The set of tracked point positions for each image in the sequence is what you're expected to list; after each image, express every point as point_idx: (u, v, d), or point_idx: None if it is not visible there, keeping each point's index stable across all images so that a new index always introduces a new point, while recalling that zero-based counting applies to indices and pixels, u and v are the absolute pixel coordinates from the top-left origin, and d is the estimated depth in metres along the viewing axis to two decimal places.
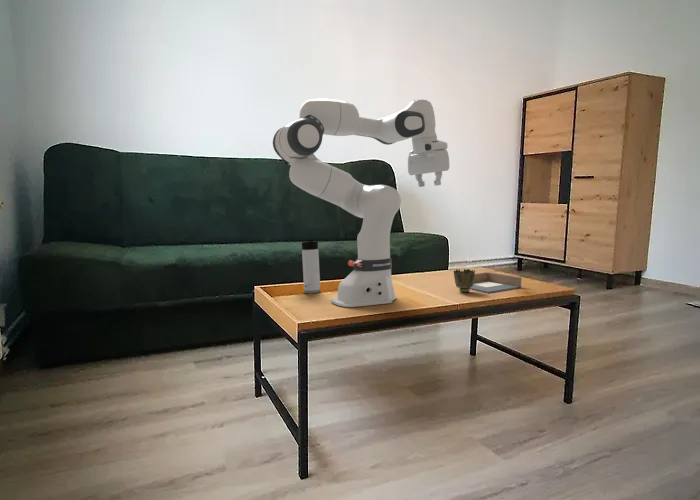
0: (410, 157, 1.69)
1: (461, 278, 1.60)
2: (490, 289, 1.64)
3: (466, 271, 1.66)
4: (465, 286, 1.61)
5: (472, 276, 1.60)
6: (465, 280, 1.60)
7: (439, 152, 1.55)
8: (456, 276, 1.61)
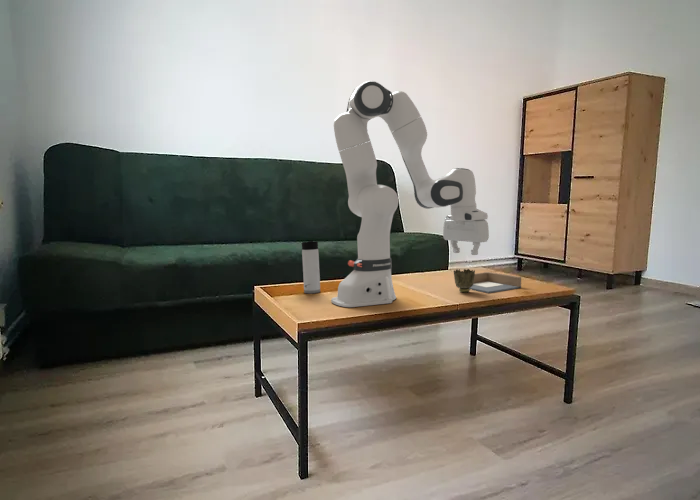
0: (446, 222, 1.67)
1: (461, 278, 1.60)
2: (490, 289, 1.64)
3: (466, 271, 1.66)
4: (465, 286, 1.61)
5: (472, 276, 1.60)
6: (465, 280, 1.60)
7: (479, 223, 1.52)
8: (456, 276, 1.61)
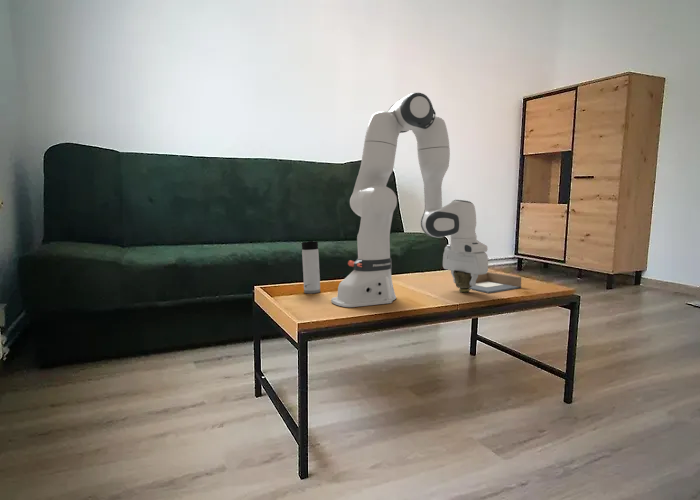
0: (446, 252, 1.68)
1: (461, 278, 1.60)
2: (490, 289, 1.64)
3: None
4: (465, 286, 1.61)
5: None
6: (465, 279, 1.60)
7: (479, 256, 1.53)
8: (456, 276, 1.61)
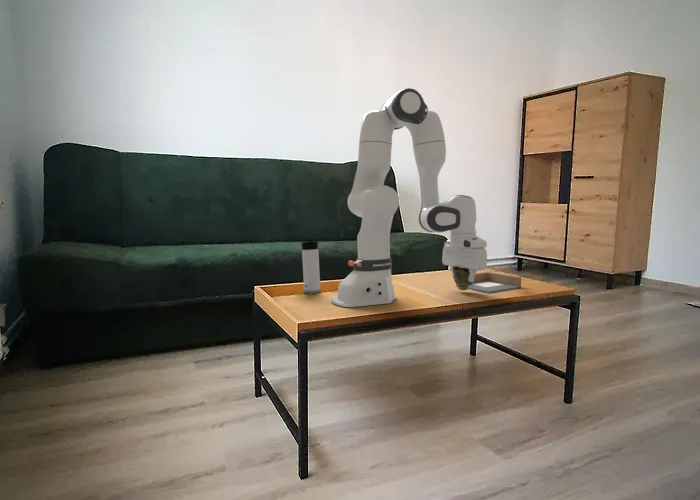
0: (446, 247, 1.67)
1: (461, 275, 1.59)
2: (490, 289, 1.64)
3: (466, 268, 1.65)
4: (464, 284, 1.60)
5: None
6: (464, 277, 1.59)
7: (478, 251, 1.53)
8: (455, 273, 1.61)
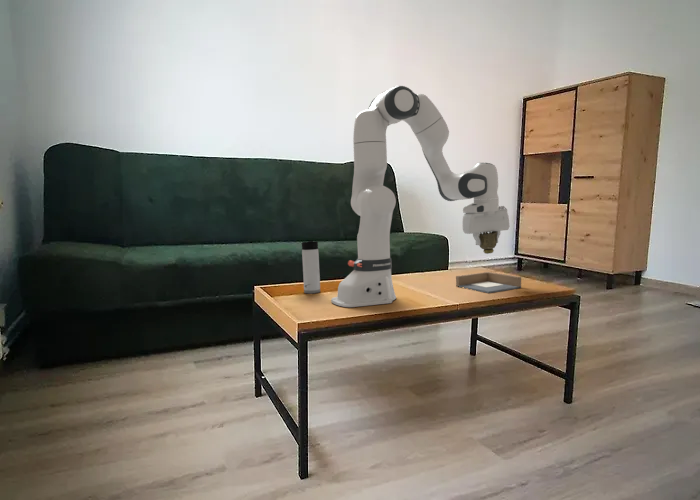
0: None
1: None
2: (490, 289, 1.64)
3: None
4: None
5: (481, 238, 1.69)
6: None
7: (464, 216, 1.67)
8: None
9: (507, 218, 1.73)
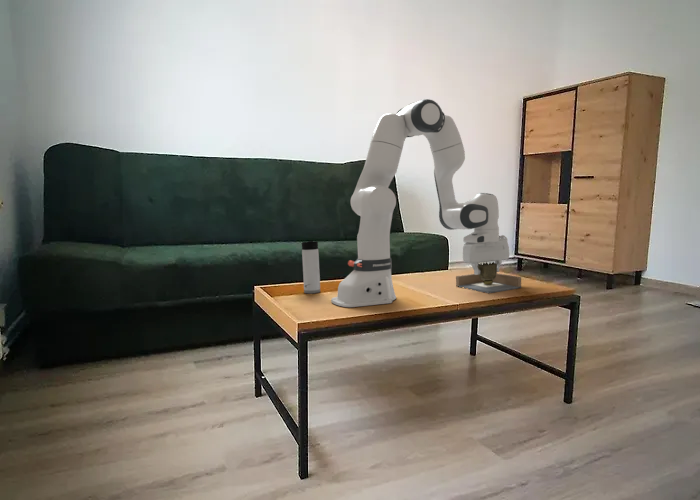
0: None
1: None
2: (490, 289, 1.64)
3: None
4: (480, 277, 1.73)
5: (481, 269, 1.70)
6: None
7: (465, 246, 1.68)
8: None
9: (507, 247, 1.74)
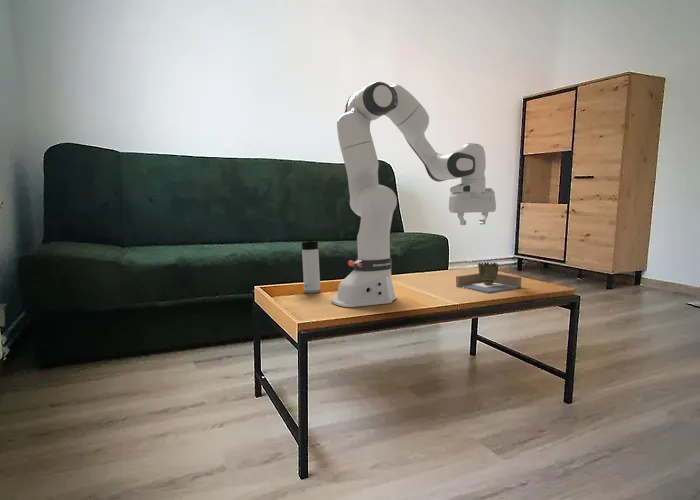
0: None
1: None
2: (490, 289, 1.64)
3: None
4: (480, 277, 1.73)
5: (482, 269, 1.70)
6: None
7: (451, 195, 1.69)
8: None
9: (494, 200, 1.75)
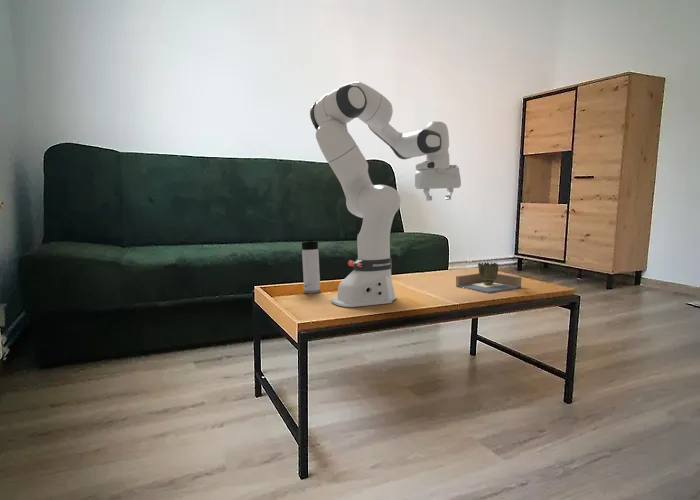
0: None
1: None
2: (490, 289, 1.64)
3: None
4: (480, 277, 1.73)
5: (482, 269, 1.70)
6: None
7: (416, 172, 1.76)
8: None
9: (459, 176, 1.82)
